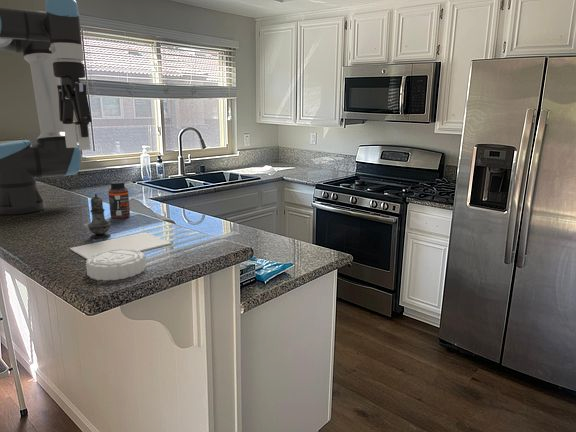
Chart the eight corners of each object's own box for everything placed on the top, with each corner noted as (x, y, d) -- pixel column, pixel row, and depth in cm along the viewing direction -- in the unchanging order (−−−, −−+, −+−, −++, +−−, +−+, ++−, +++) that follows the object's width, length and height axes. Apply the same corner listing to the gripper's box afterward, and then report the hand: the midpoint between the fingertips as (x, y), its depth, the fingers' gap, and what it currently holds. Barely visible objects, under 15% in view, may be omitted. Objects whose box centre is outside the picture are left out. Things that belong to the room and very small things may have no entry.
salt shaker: (85, 236, 121) (79, 193, 118) (105, 232, 125) (101, 190, 122) (94, 241, 117) (89, 196, 114) (115, 236, 121) (111, 193, 118)
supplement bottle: (123, 219, 140) (120, 184, 137) (106, 218, 141) (103, 183, 138) (133, 215, 145) (130, 180, 143) (117, 214, 146) (114, 180, 144)
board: (70, 249, 110) (70, 248, 110) (145, 233, 124) (144, 232, 124) (93, 263, 100) (92, 261, 100) (171, 244, 114) (171, 242, 114)
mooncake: (74, 277, 93) (72, 261, 92) (114, 259, 104) (112, 244, 103) (120, 284, 89) (118, 267, 88) (157, 265, 100) (156, 250, 99)
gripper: (39, 63, 121) (50, 147, 126) (68, 57, 106) (79, 152, 112) (68, 65, 126) (77, 145, 132) (99, 59, 111) (108, 150, 117)
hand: (78, 148), depth 122 cm, fingers open, 9 cm apart
